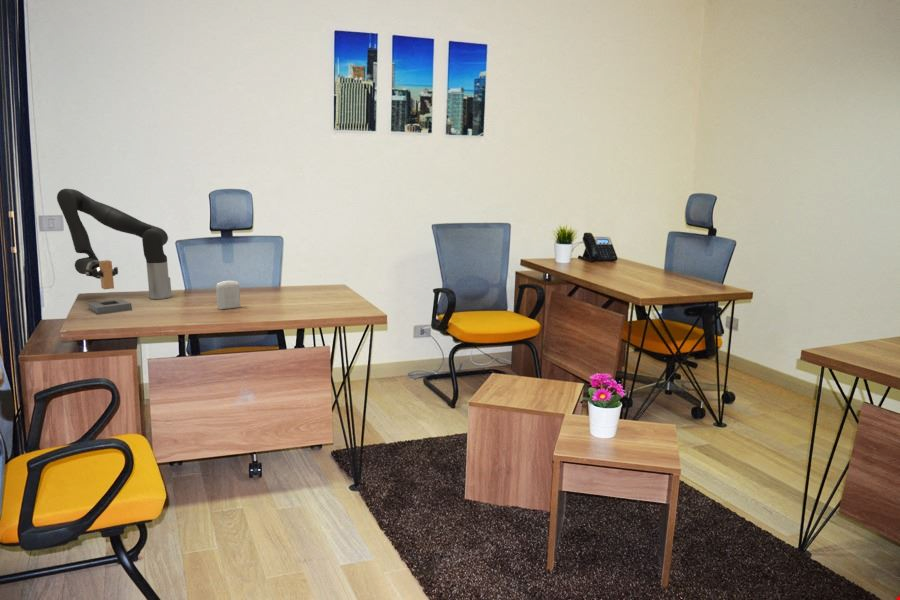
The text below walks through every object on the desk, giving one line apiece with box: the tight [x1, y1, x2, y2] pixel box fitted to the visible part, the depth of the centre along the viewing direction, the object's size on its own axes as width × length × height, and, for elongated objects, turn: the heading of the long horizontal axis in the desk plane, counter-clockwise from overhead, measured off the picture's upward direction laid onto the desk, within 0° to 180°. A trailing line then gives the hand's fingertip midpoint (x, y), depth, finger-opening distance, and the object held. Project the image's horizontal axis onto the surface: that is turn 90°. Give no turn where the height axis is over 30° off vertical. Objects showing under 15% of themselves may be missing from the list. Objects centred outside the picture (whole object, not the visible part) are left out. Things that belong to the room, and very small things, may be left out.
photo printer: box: [215, 280, 241, 310], centre depth 320 cm, size 10×4×12 cm, turn 123°
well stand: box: [87, 298, 133, 315], centre depth 319 cm, size 14×14×3 cm
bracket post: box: [99, 259, 115, 290], centre depth 316 cm, size 4×4×12 cm
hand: (108, 274), depth 314 cm, fingers closed on bracket post, 4 cm apart
